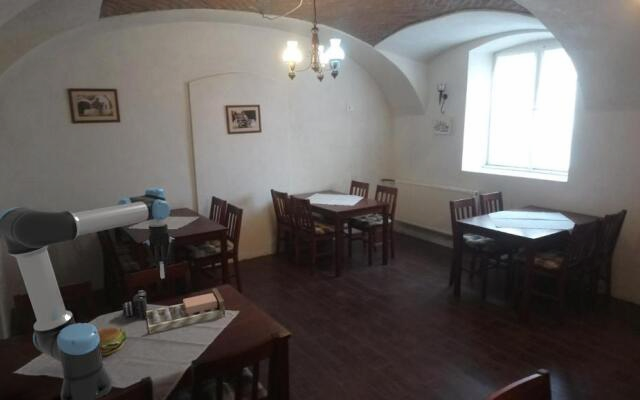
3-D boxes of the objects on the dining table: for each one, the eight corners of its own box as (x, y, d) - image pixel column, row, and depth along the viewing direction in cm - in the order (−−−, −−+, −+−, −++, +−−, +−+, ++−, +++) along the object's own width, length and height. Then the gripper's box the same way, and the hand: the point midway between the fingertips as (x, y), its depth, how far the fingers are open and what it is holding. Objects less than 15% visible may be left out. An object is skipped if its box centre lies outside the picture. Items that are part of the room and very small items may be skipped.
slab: (187, 314, 188) (186, 307, 188) (183, 305, 197) (183, 299, 197) (217, 307, 194) (217, 300, 194) (213, 299, 203) (212, 292, 203)
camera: (124, 310, 202) (121, 291, 200) (147, 305, 207) (145, 287, 205) (124, 323, 190) (121, 302, 188) (149, 317, 194) (147, 297, 192)
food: (91, 363, 159) (88, 344, 157) (87, 346, 170) (84, 329, 169) (129, 351, 166) (127, 333, 165) (123, 336, 178) (121, 319, 176)
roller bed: (149, 333, 179) (147, 317, 178) (147, 317, 194) (145, 302, 193) (225, 315, 193) (223, 300, 192) (217, 302, 208) (216, 288, 206)
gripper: (141, 228, 169) (147, 282, 173) (175, 224, 175) (179, 277, 179) (140, 224, 176) (145, 277, 180) (172, 221, 181) (176, 272, 185)
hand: (162, 277), depth 179 cm, fingers closed
